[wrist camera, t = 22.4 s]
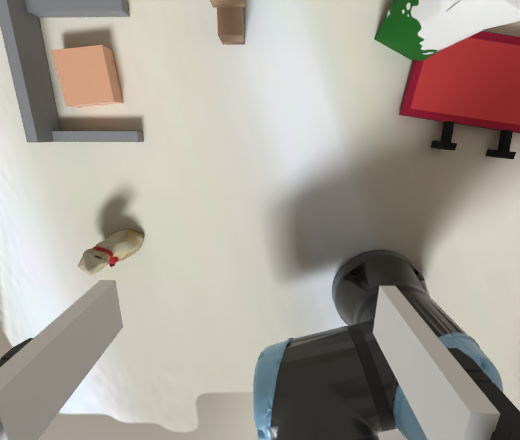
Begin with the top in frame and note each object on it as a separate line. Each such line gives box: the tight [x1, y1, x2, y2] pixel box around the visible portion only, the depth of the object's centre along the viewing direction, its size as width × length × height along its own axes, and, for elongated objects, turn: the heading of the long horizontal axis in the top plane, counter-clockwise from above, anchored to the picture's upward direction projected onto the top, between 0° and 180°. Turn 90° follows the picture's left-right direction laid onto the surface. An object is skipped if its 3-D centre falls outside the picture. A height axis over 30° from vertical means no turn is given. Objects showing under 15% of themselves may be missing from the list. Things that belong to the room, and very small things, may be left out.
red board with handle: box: [399, 31, 520, 159], centre depth 39 cm, size 30×3×15 cm
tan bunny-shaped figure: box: [78, 229, 144, 275], centre depth 44 cm, size 6×8×10 cm
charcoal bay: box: [0, 0, 144, 142], centre depth 39 cm, size 14×18×5 cm
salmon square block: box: [51, 45, 123, 108], centre depth 41 cm, size 7×7×3 cm
